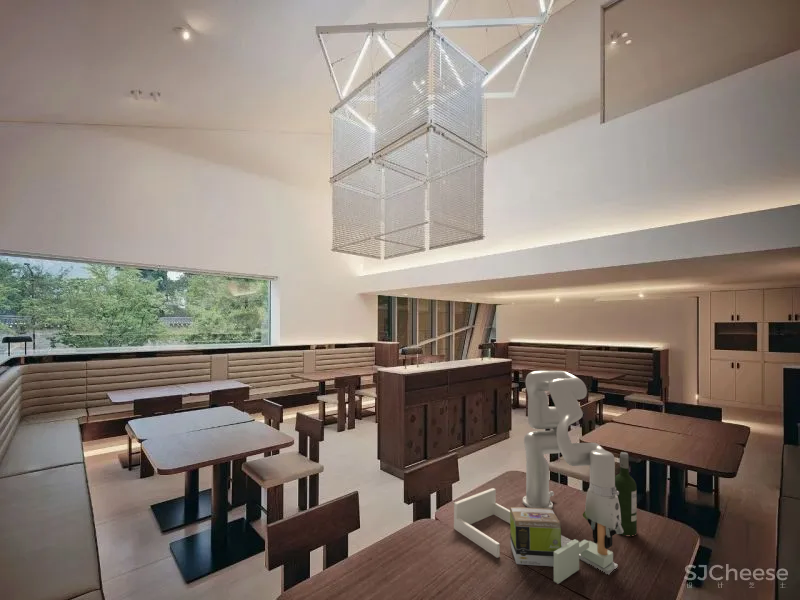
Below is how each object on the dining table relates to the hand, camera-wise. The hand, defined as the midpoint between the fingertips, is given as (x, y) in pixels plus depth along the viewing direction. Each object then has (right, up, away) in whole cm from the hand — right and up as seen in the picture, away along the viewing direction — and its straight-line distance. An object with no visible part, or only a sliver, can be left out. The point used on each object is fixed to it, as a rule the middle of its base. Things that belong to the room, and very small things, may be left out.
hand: (602, 543), depth 128 cm
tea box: (-21, -7, +4) cm, 23 cm away
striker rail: (-10, -8, +13) cm, 18 cm away
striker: (-9, -6, -4) cm, 11 cm away
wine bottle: (+20, -8, +20) cm, 29 cm away
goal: (-31, -7, +18) cm, 37 cm away
